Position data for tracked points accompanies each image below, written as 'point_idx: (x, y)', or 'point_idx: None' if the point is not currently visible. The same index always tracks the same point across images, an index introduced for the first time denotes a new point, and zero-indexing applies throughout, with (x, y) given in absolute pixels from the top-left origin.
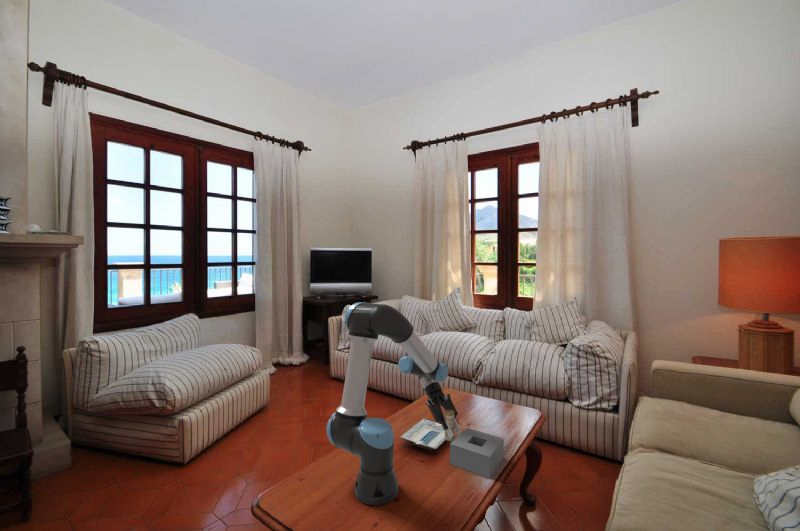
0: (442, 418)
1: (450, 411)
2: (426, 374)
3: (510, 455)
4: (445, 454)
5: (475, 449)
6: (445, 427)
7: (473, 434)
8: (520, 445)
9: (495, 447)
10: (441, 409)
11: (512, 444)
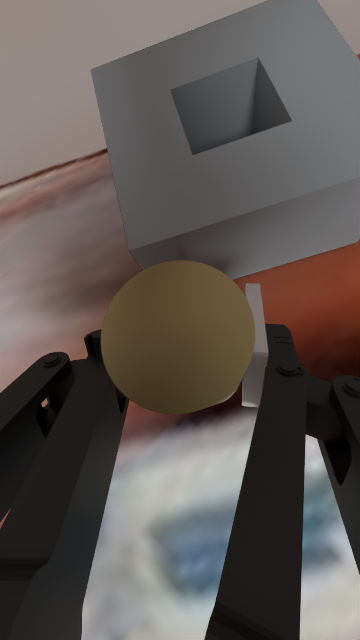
0: (300, 382)
1: (168, 321)
2: None
3: (91, 163)
4: (309, 318)
5: (314, 50)
6: (290, 333)
7: (175, 165)
8: (5, 185)
9: (201, 30)
10: (240, 495)
11: (15, 204)
